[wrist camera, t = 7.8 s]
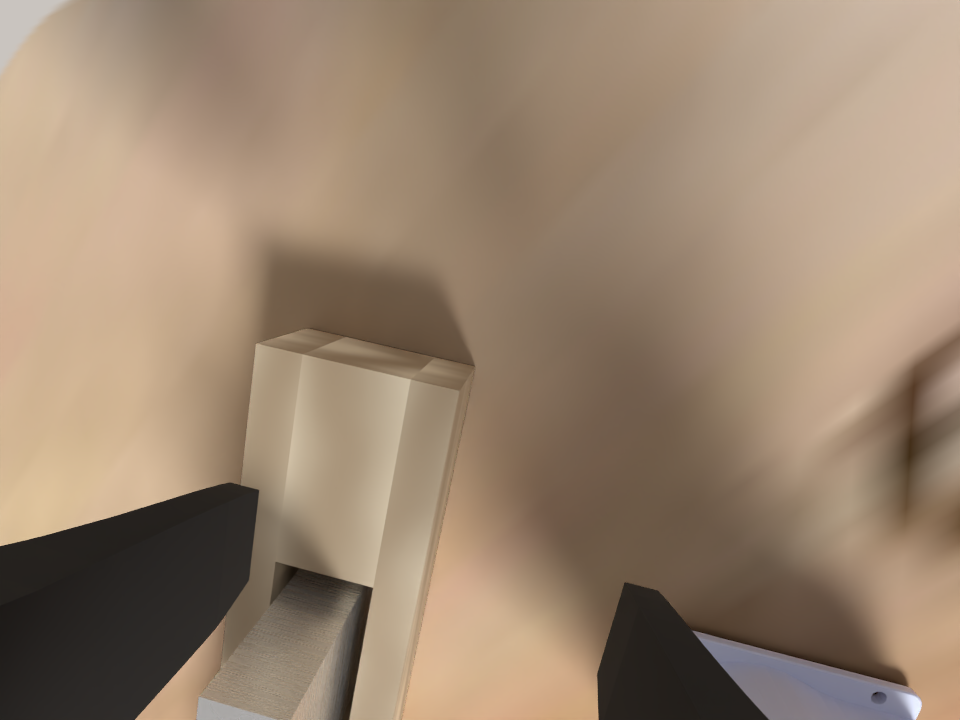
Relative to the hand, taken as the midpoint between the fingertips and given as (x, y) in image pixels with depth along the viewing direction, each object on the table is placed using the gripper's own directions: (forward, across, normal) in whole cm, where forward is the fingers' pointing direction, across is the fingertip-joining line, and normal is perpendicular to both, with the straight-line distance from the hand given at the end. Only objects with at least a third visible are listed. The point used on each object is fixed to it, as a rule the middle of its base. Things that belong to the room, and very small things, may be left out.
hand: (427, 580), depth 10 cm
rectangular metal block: (+10, +4, +9) cm, 14 cm away
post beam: (+9, +4, +9) cm, 14 cm away
